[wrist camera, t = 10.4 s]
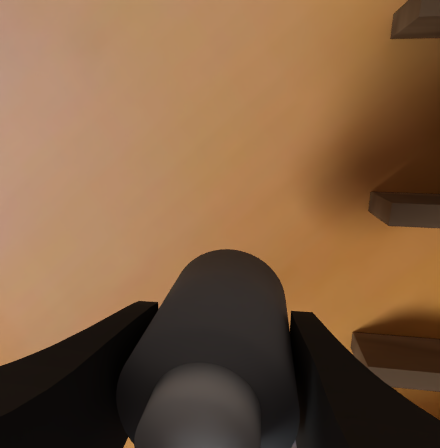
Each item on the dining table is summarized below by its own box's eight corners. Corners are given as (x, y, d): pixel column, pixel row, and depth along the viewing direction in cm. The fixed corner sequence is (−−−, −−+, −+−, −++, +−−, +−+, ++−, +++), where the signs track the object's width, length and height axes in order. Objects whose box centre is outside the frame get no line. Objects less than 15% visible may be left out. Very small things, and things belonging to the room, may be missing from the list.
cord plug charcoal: (282, 356, 12) (299, 546, 7) (175, 347, 13) (102, 518, 7) (288, 252, 11) (312, 368, 6) (171, 247, 12) (85, 350, 6)
